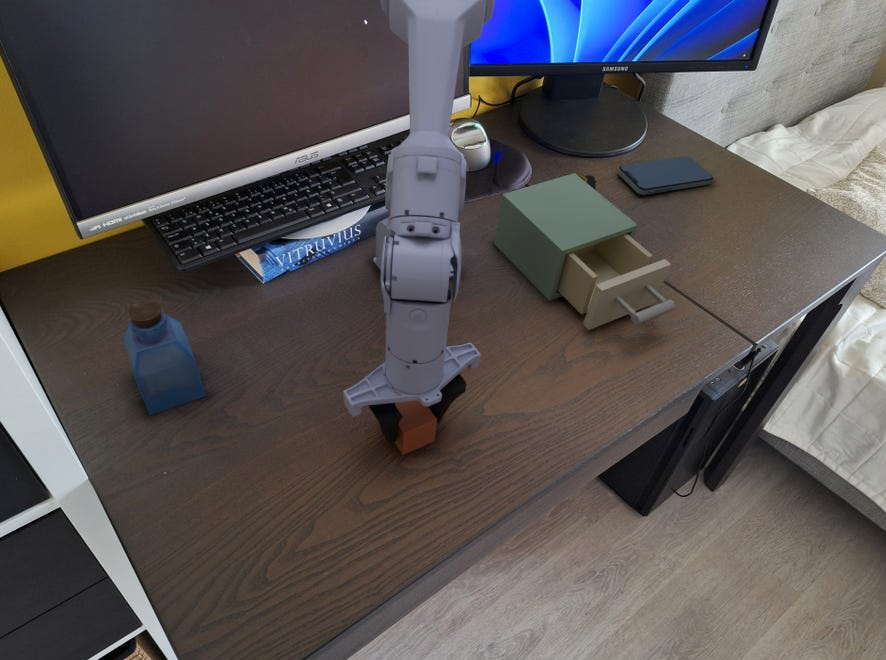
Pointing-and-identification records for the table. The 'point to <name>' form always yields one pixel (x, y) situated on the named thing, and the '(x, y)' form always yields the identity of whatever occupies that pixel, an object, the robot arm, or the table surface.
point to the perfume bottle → (161, 358)
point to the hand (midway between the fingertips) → (410, 427)
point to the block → (415, 426)
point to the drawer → (614, 282)
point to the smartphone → (664, 175)
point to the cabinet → (555, 227)
